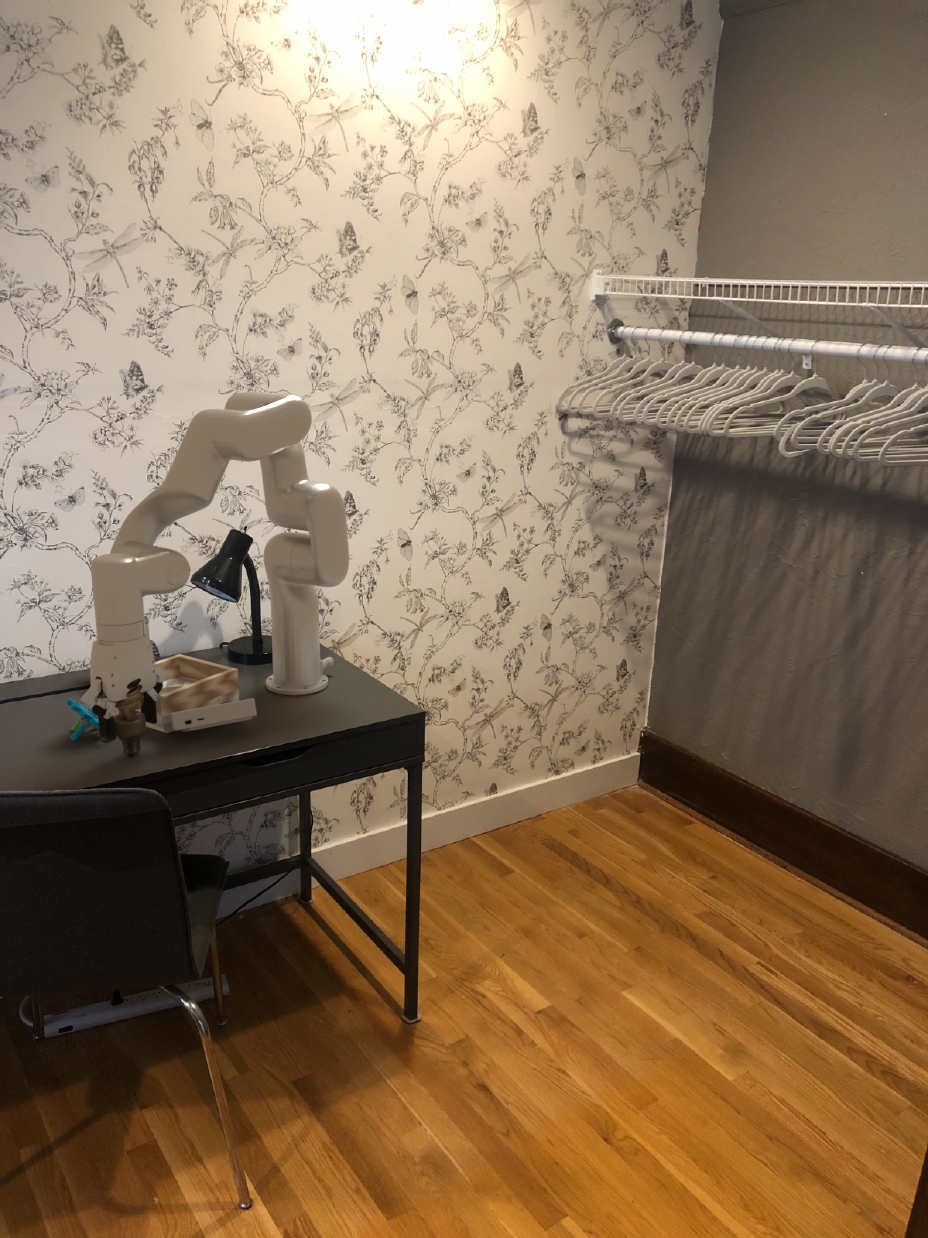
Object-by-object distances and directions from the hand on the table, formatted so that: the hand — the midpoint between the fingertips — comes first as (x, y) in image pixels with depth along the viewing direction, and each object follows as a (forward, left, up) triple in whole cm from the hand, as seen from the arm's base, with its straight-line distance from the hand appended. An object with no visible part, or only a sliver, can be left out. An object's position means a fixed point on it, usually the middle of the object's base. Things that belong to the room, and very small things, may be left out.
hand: (129, 729), depth 160 cm
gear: (-2, -12, -5) cm, 14 cm away
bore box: (-19, -10, -5) cm, 22 cm away
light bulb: (0, 0, -5) cm, 5 cm away
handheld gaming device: (-14, +5, -3) cm, 15 cm away
